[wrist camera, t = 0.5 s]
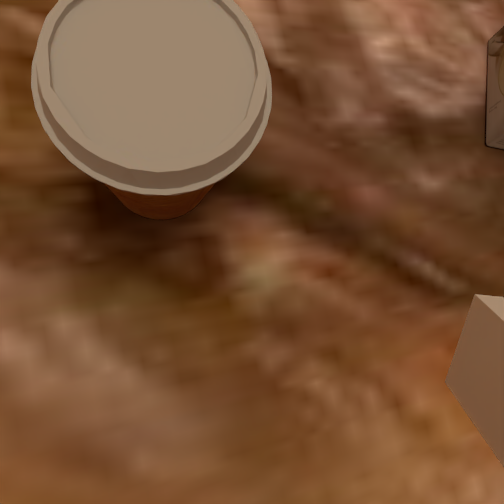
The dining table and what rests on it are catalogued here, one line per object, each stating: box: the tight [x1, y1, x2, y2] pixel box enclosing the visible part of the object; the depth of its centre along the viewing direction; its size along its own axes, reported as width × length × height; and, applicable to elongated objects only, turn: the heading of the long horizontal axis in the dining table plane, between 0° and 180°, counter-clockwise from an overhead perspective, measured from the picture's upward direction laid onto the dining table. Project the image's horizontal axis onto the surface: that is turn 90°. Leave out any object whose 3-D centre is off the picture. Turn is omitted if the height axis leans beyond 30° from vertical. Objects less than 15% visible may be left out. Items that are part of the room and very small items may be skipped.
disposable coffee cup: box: [31, 0, 272, 220], centre depth 23 cm, size 10×10×12 cm
